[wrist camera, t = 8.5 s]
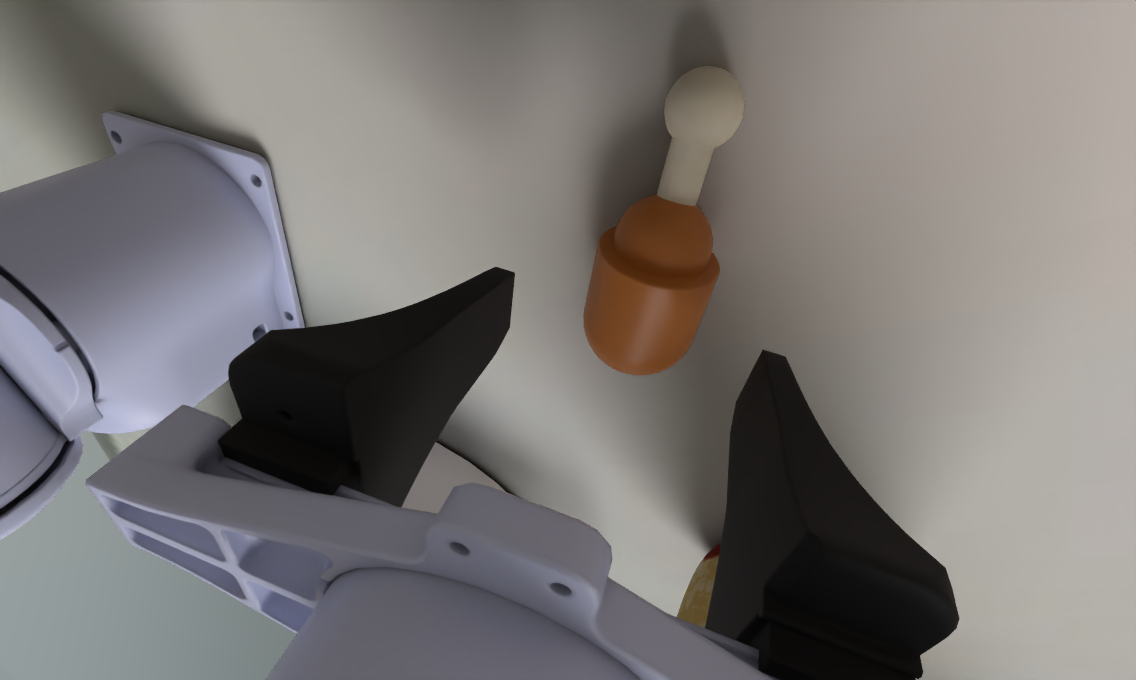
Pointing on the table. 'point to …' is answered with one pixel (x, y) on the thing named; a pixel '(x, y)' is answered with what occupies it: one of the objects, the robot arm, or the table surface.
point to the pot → (442, 479)
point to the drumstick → (664, 239)
